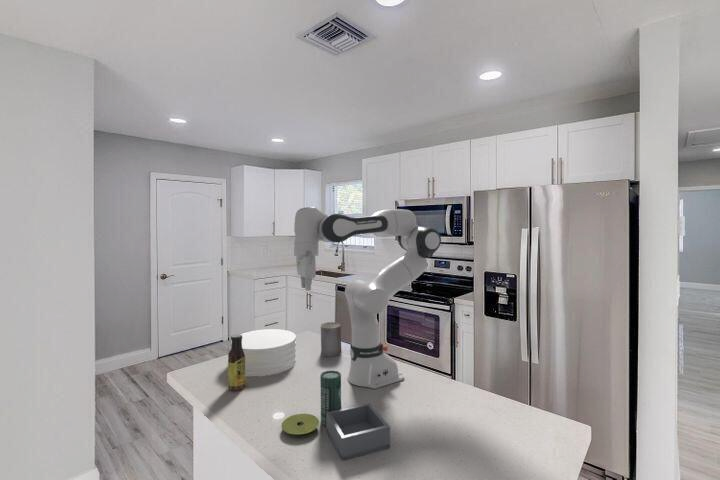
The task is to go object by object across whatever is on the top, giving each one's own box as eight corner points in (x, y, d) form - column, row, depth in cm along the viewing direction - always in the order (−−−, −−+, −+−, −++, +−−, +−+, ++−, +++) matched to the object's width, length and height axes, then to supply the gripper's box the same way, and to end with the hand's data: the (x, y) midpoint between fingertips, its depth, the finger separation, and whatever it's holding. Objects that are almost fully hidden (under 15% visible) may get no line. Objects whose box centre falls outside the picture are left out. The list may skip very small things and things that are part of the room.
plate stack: (308, 363, 159) (308, 338, 158) (249, 383, 140) (249, 354, 139) (276, 348, 179) (275, 325, 179) (220, 363, 160) (220, 338, 159)
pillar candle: (334, 348, 178) (333, 318, 178) (345, 353, 170) (344, 322, 170) (317, 352, 173) (316, 321, 172) (327, 358, 165) (326, 326, 164)
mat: (326, 431, 107) (326, 424, 107) (292, 445, 100) (292, 438, 100) (307, 415, 115) (307, 409, 115) (274, 428, 108) (274, 421, 108)
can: (344, 421, 112) (344, 374, 111) (329, 429, 108) (329, 380, 107) (332, 414, 116) (331, 368, 116) (317, 421, 112) (316, 374, 111)
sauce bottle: (240, 392, 132) (239, 339, 131) (224, 390, 133) (223, 338, 132) (249, 384, 138) (248, 333, 137) (234, 383, 139) (233, 333, 138)
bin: (369, 421, 112) (369, 403, 111) (389, 447, 99) (389, 426, 98) (326, 431, 106) (326, 412, 106) (342, 460, 93) (341, 438, 93)
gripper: (320, 251, 121) (320, 291, 121) (310, 251, 141) (310, 286, 140) (301, 251, 119) (301, 292, 119) (294, 251, 139) (293, 286, 139)
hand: (305, 289), depth 130 cm, fingers open, 8 cm apart
